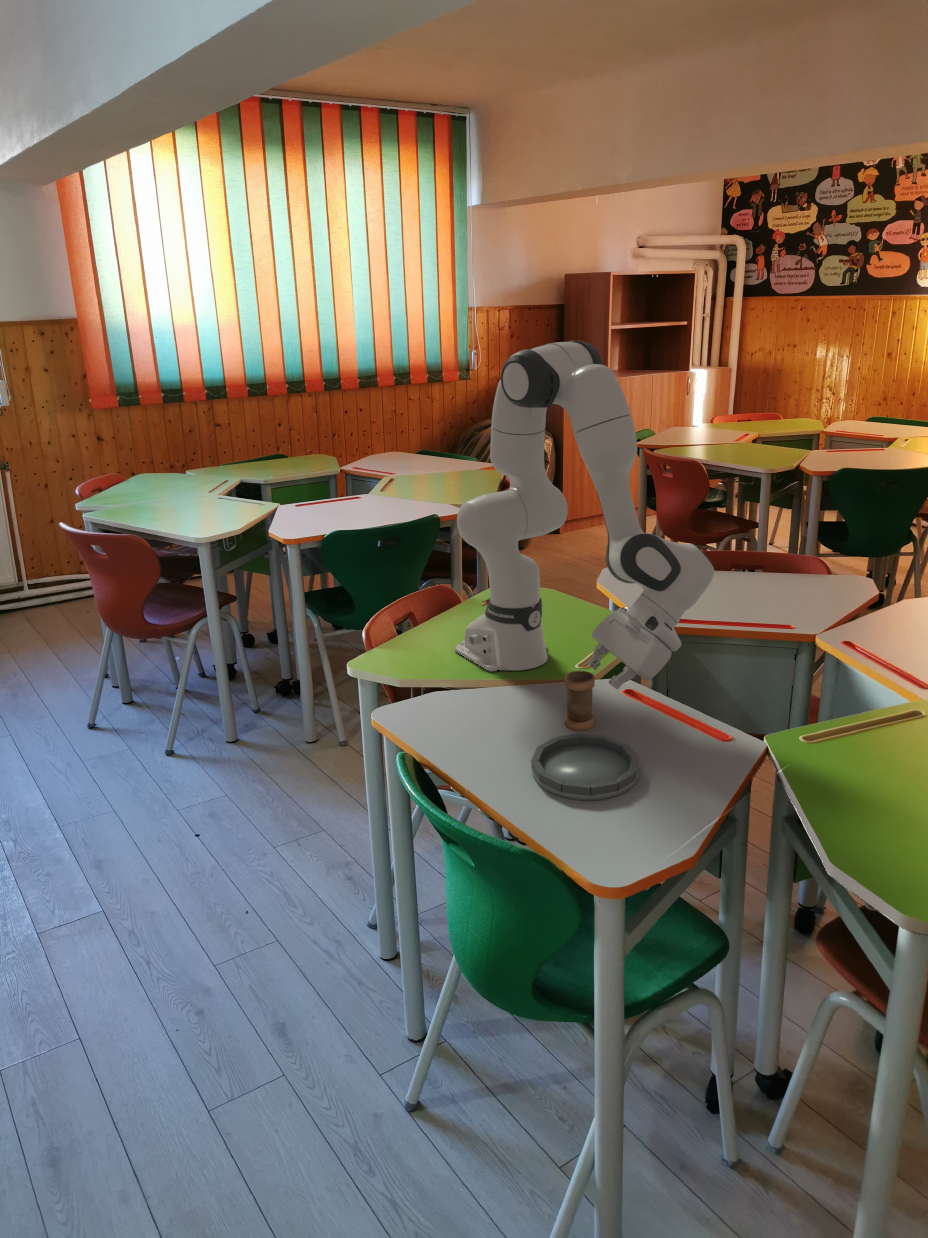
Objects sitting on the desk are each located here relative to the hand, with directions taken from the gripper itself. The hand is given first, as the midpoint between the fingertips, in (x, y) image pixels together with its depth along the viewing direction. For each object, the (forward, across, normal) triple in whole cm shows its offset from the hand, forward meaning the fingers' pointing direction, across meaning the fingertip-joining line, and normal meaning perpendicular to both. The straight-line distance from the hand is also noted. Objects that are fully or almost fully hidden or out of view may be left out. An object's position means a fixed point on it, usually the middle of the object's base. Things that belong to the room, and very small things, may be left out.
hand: (601, 676), depth 169 cm
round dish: (+14, +16, -1) cm, 22 cm away
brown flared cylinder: (+10, 0, +3) cm, 10 cm away
